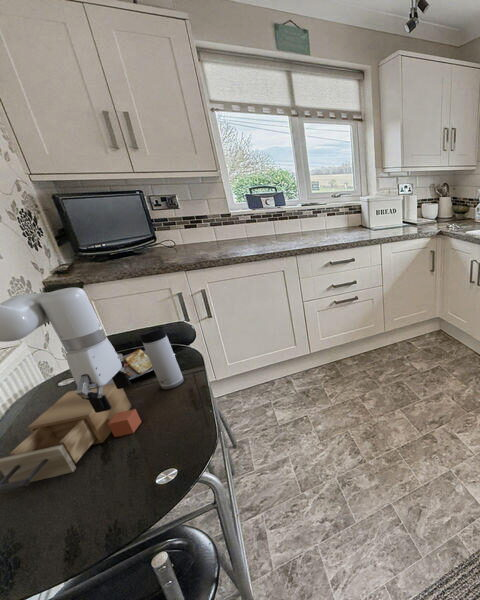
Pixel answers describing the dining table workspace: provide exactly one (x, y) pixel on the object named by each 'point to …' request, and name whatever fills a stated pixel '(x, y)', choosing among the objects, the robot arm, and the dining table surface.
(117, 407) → the cabinet
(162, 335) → the travel mug
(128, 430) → the block
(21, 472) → the drawer
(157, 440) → the dining table surface
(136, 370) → the food plate
